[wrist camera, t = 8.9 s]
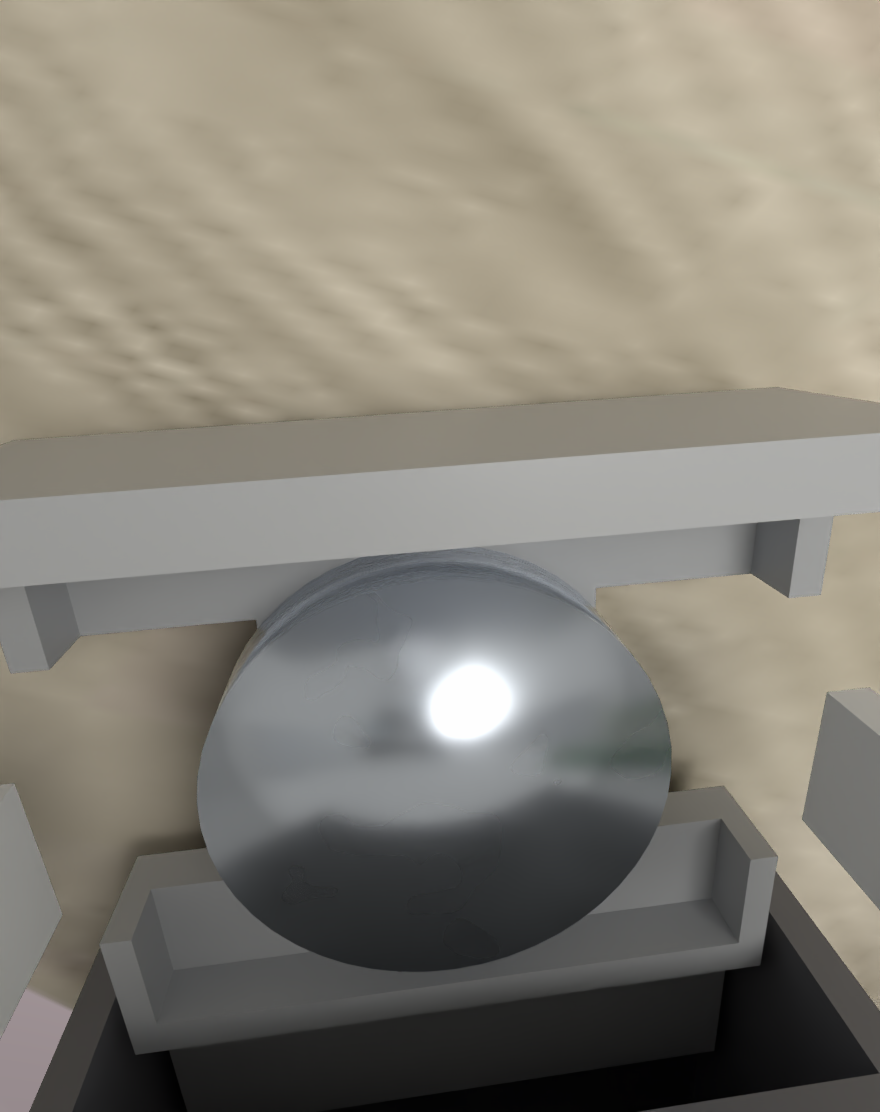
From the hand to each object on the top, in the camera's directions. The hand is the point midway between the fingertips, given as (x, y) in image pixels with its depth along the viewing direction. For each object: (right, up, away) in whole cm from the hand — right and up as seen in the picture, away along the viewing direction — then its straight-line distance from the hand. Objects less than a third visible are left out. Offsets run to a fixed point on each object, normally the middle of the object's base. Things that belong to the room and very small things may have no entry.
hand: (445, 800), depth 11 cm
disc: (0, 0, +2) cm, 2 cm away
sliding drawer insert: (0, -2, +4) cm, 4 cm away
